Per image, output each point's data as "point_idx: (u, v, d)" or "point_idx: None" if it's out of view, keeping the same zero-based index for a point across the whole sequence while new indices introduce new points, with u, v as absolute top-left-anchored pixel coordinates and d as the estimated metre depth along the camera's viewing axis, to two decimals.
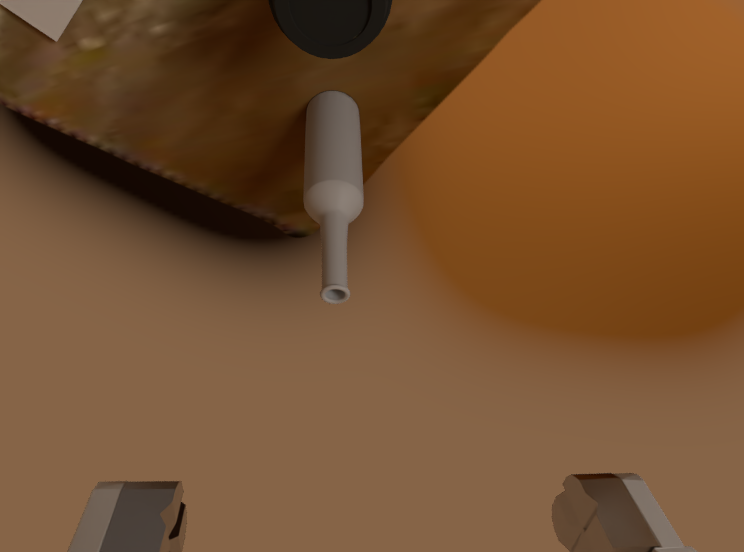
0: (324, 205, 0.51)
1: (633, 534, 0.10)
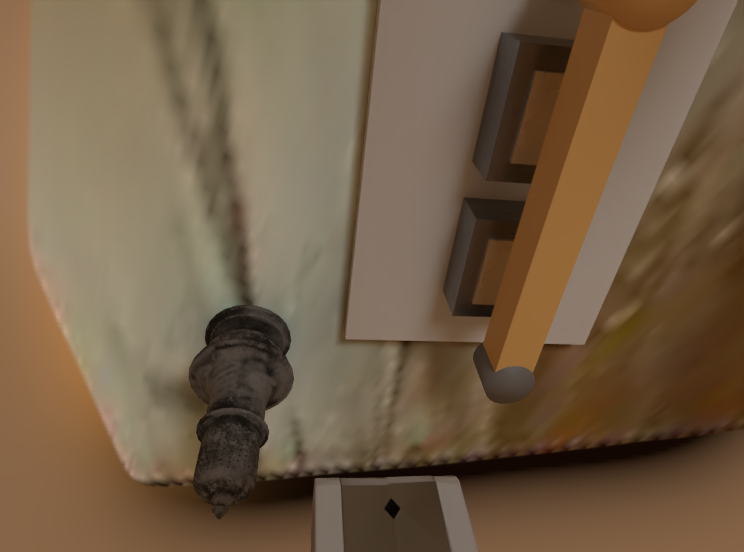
0: None
1: (427, 541, 0.09)
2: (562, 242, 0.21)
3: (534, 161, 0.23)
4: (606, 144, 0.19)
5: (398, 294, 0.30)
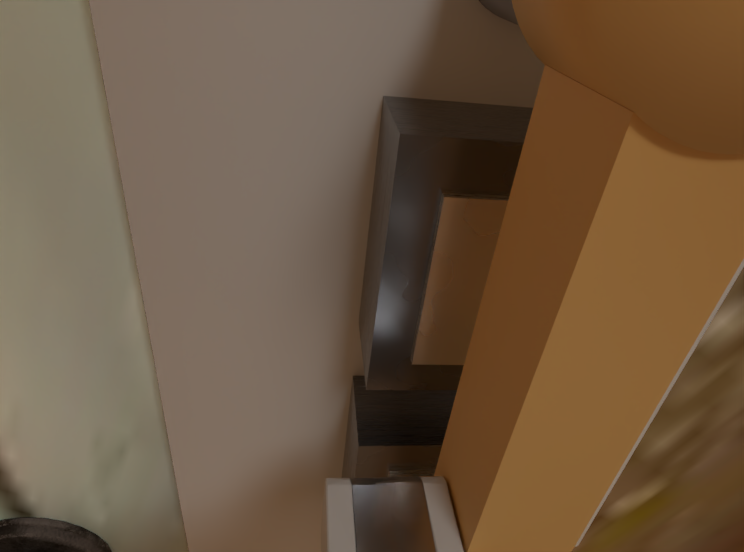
0: None
1: (413, 542, 0.09)
2: None
3: (460, 359, 0.11)
4: (610, 420, 0.07)
5: (265, 506, 0.18)
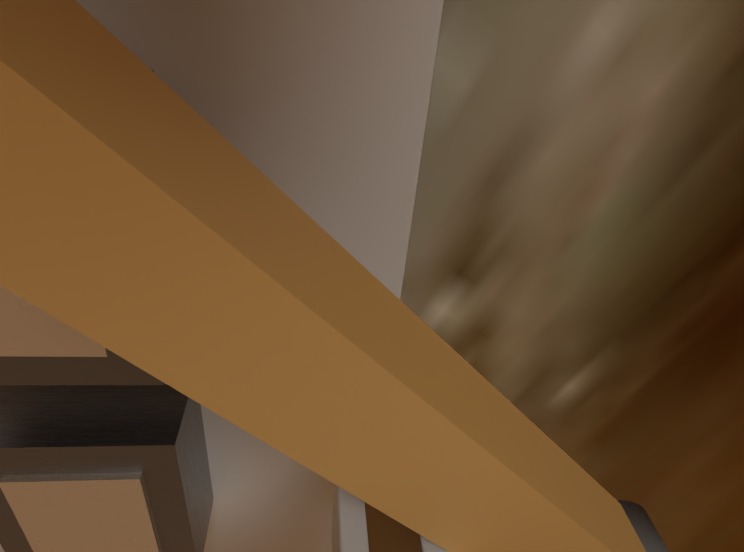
0: None
1: (399, 542, 0.09)
2: (418, 469, 0.07)
3: None
4: (192, 280, 0.05)
5: None
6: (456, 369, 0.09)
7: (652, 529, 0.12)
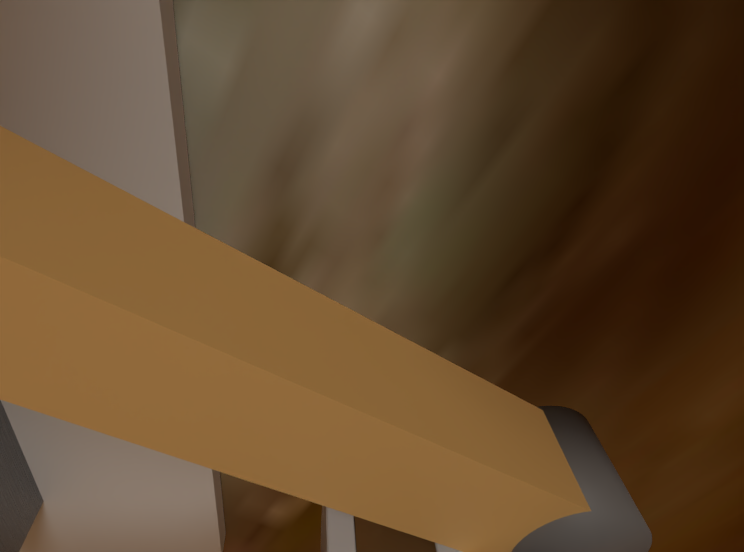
0: None
1: (413, 541, 0.09)
2: (118, 374, 0.06)
3: None
4: None
5: None
6: (202, 258, 0.07)
7: (583, 433, 0.10)
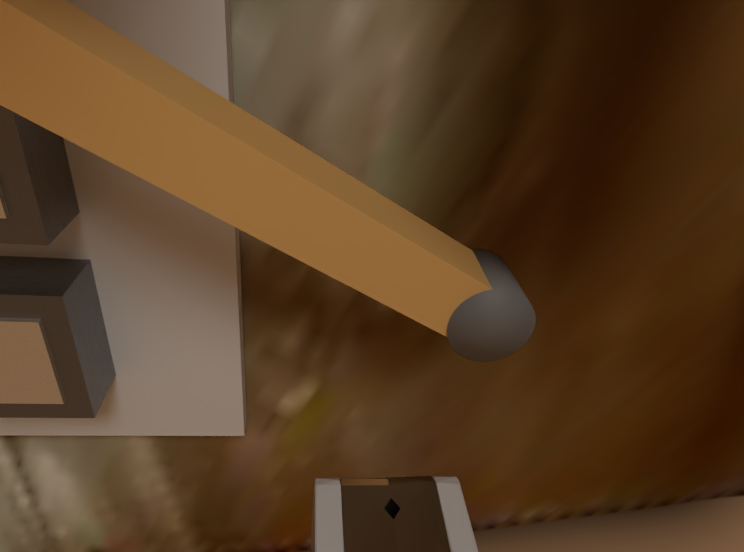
0: None
1: (427, 541, 0.09)
2: (225, 176, 0.12)
3: None
4: (32, 51, 0.10)
5: None
6: (262, 129, 0.13)
7: (497, 261, 0.16)
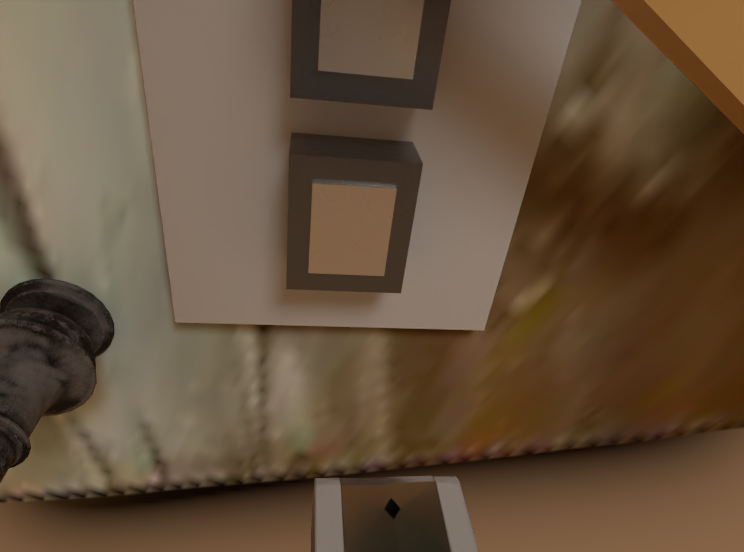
0: None
1: (427, 541, 0.09)
2: (718, 7, 0.13)
3: (350, 68, 0.17)
4: None
5: (231, 264, 0.24)
6: None
7: None
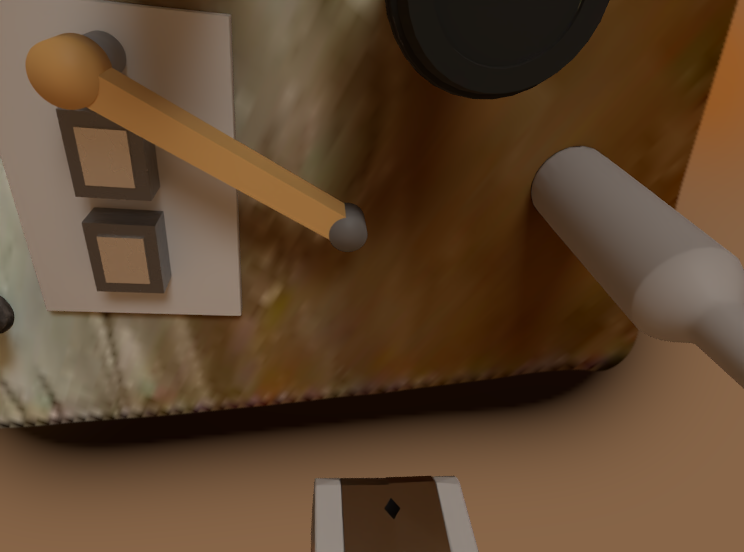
0: (683, 309, 0.27)
1: (427, 541, 0.09)
2: (234, 170, 0.31)
3: (101, 184, 0.34)
4: (169, 127, 0.29)
5: (74, 276, 0.41)
6: (248, 151, 0.32)
7: (354, 208, 0.35)
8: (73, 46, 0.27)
